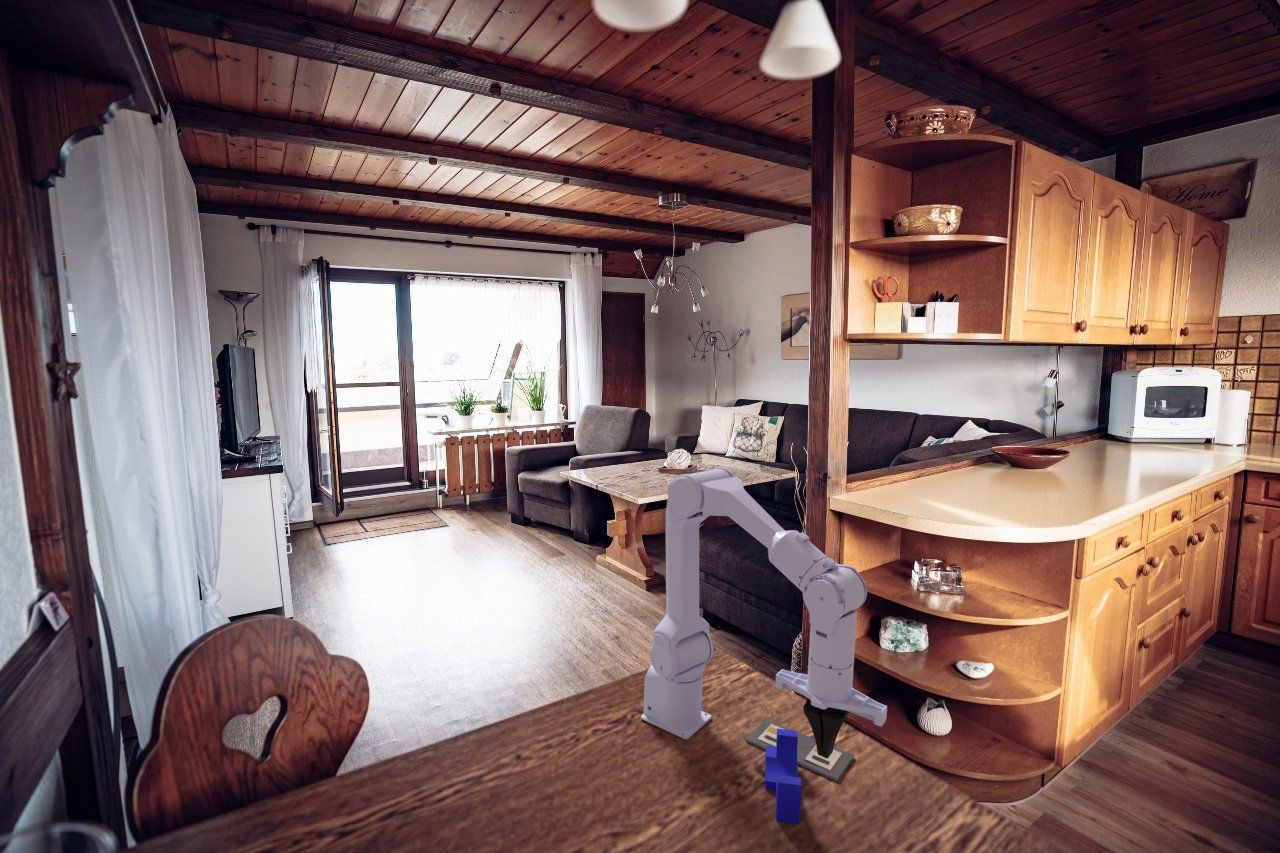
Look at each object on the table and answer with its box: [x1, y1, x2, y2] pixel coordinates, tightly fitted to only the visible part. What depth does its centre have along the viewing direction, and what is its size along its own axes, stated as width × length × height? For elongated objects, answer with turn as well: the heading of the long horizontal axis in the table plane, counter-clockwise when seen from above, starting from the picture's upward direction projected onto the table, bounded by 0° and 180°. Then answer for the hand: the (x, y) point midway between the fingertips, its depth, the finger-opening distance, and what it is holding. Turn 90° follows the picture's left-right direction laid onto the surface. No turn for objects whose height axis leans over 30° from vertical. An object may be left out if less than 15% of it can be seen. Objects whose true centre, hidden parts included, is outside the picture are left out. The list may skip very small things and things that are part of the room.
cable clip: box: [764, 729, 802, 826], centre depth 91 cm, size 12×4×6 cm, turn 169°
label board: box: [745, 718, 855, 783], centre depth 100 cm, size 15×7×1 cm, turn 53°
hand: (825, 753), depth 86 cm, fingers closed
